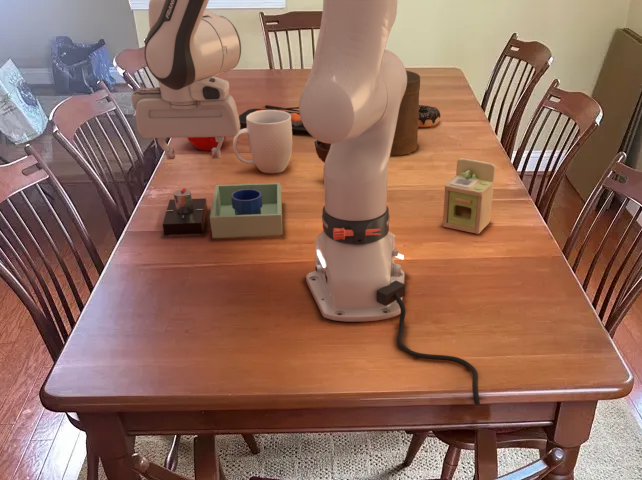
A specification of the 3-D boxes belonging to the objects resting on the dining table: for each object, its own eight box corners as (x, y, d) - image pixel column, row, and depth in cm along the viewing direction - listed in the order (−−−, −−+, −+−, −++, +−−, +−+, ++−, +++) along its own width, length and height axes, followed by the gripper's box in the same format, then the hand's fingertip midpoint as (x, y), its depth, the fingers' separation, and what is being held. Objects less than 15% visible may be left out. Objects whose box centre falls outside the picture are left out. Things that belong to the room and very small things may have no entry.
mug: (239, 181, 173) (234, 126, 165) (232, 165, 181) (226, 113, 173) (298, 174, 176) (296, 120, 168) (288, 159, 184) (285, 107, 176)
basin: (282, 237, 148) (281, 214, 145) (212, 240, 147) (209, 217, 144) (281, 204, 162) (280, 182, 159) (218, 206, 161) (215, 184, 158)
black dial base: (203, 236, 149) (201, 222, 147) (164, 237, 148) (162, 223, 146) (207, 210, 159) (205, 197, 157) (171, 212, 158) (169, 198, 156)
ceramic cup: (192, 162, 183) (187, 122, 177) (179, 142, 195) (174, 104, 189) (241, 155, 187) (237, 116, 181) (225, 136, 199) (221, 99, 193)
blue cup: (263, 224, 152) (261, 200, 148) (233, 225, 151) (230, 201, 148) (263, 212, 157) (261, 188, 153) (234, 213, 156) (232, 189, 153)
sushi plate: (230, 128, 205) (229, 114, 202) (271, 100, 227) (270, 87, 225) (324, 138, 197) (323, 124, 195) (356, 108, 220) (356, 95, 217)
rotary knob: (190, 214, 150) (187, 195, 147) (174, 213, 150) (170, 194, 148) (195, 207, 153) (192, 188, 150) (179, 206, 153) (176, 187, 150)
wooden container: (406, 136, 199) (410, 51, 185) (424, 153, 188) (430, 65, 174) (356, 140, 196) (356, 55, 182) (371, 158, 185) (372, 69, 171)
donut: (438, 116, 213) (439, 103, 210) (441, 129, 204) (442, 115, 201) (401, 116, 213) (402, 103, 211) (403, 129, 204) (404, 115, 201)
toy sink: (440, 227, 152) (445, 167, 144) (453, 215, 157) (458, 156, 149) (477, 236, 148) (484, 175, 140) (489, 223, 153) (497, 163, 145)
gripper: (125, 92, 133) (140, 164, 142) (232, 90, 133) (241, 162, 142) (133, 83, 138) (146, 154, 147) (236, 81, 138) (244, 152, 147)
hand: (193, 158), depth 144 cm, fingers open, 8 cm apart
